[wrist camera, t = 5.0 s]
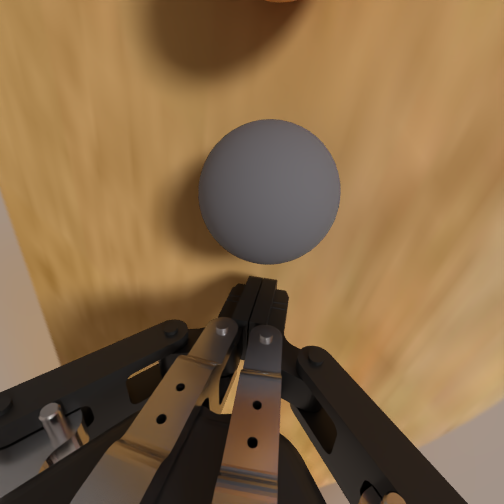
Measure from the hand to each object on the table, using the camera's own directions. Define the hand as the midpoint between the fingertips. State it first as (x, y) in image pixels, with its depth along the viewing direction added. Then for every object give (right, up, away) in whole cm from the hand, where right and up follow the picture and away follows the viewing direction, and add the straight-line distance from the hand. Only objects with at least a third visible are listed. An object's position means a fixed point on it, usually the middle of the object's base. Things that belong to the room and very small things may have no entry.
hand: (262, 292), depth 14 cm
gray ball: (0, +4, -4) cm, 6 cm away
